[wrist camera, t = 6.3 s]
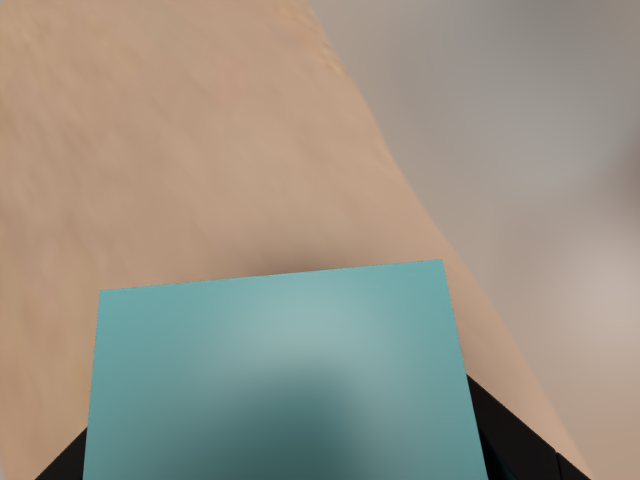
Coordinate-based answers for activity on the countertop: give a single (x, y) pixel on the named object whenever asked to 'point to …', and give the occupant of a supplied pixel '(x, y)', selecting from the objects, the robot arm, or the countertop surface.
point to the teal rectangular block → (283, 380)
